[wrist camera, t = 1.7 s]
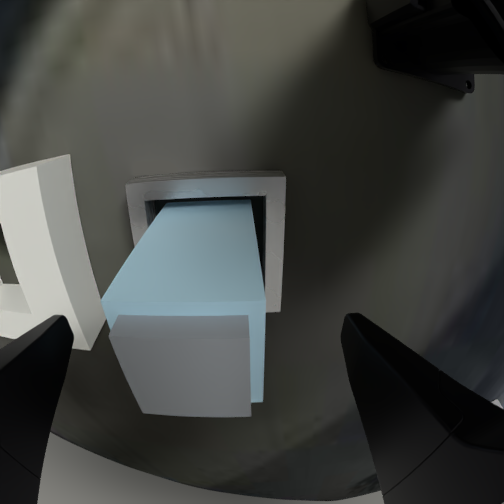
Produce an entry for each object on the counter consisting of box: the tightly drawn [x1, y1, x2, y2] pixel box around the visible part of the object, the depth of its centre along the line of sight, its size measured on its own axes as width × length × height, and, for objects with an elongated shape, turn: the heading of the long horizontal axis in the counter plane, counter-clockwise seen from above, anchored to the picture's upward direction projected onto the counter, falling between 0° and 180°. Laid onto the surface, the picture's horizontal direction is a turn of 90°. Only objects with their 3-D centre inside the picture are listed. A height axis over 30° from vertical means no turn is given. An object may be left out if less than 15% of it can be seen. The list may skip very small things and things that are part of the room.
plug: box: [101, 199, 266, 417], centre depth 11 cm, size 4×4×9 cm
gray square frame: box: [125, 170, 286, 312], centre depth 14 cm, size 7×7×2 cm
